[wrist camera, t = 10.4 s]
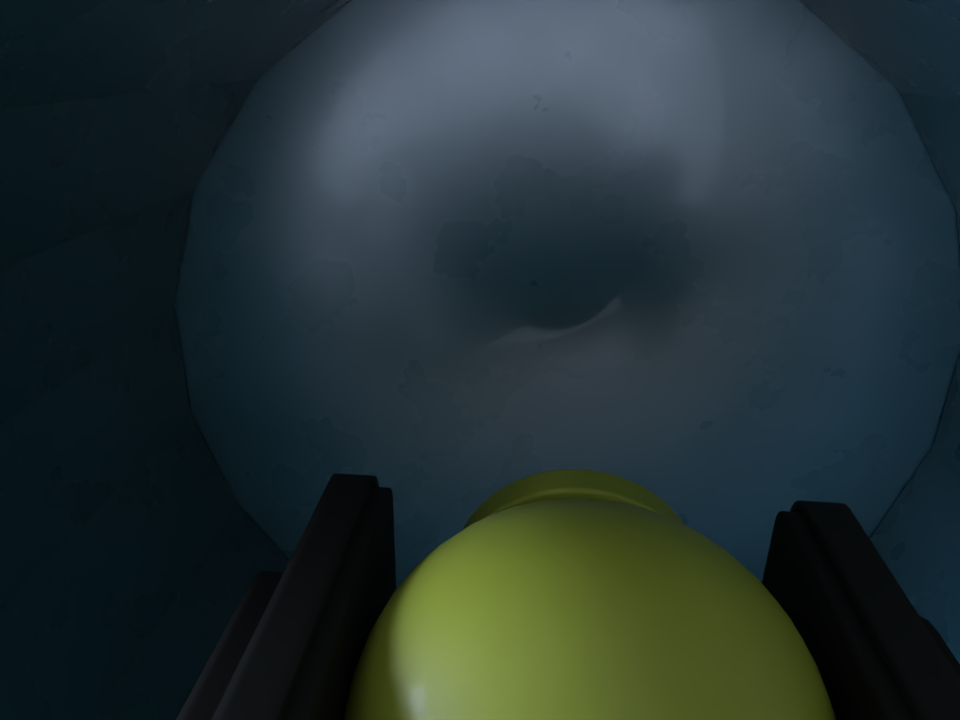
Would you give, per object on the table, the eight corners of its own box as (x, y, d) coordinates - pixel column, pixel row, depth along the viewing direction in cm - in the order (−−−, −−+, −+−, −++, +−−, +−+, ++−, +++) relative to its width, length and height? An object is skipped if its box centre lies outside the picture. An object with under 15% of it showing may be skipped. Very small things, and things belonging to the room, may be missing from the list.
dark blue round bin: (215, 643, 20) (-25, 1088, 12) (95, -98, 14) (-707, -353, 5) (872, 689, 19) (1143, 1216, 11) (1106, -92, 12) (2426, -408, 4)
